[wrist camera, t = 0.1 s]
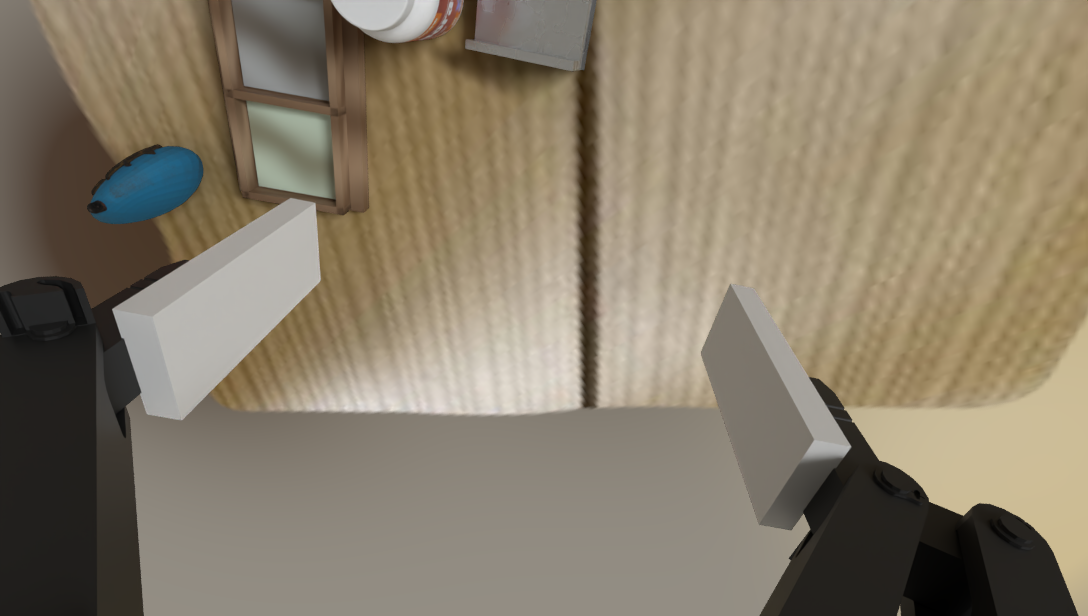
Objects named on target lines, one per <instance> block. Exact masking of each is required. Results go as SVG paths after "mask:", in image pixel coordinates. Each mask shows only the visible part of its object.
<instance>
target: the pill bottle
mask: <svg viewBox="0 0 1088 616" xmlns="http://www.w3.org/2000/svg"><path fill="white" fill-rule="evenodd" d="M331 2H332V3H333V5H334V7H335V8H336V9H337V11H338V12H339V13H340V14H341V15H342V16H343V17H344V18H345V19H346V20H347V21H348V22H350V23H351V24H353V25H355V26H356V27H358V28H359V29H361V30H362V31H363V32H364V33H366V34H367V35H369V36H371V37H373V38H375V39H377V40H380V41H383V42H388V43H403V42H411V41H418V40H427V39H434V38H437V37H440V36H442V35H444V34H445V33H447V32H448V31H449V30H451V29H452V28H453V26H454V25H455V24H456V22H457V21H458V19H459V17H460V14H461V12H462V8H463V2H464V0H331Z"/></svg>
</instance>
